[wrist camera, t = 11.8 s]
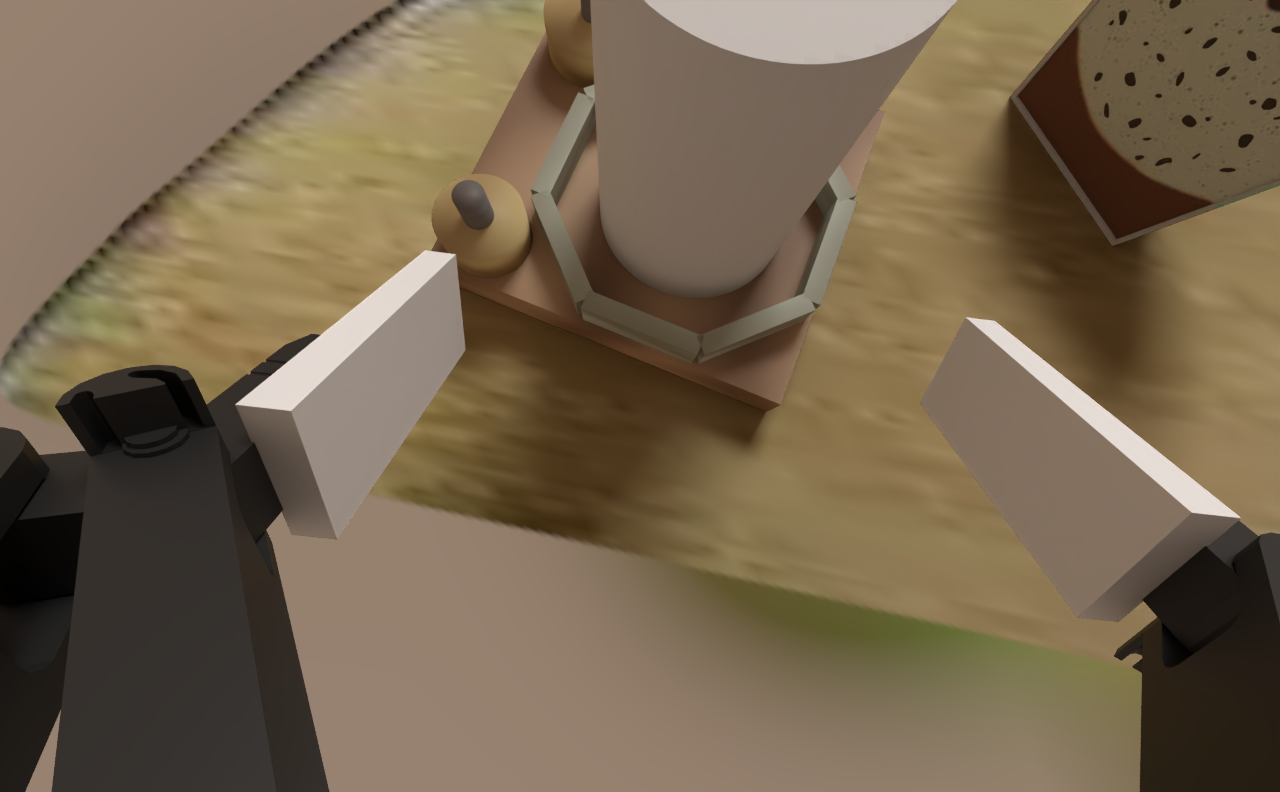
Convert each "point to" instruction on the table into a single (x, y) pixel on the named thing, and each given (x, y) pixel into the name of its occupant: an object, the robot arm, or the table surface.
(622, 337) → the gear board
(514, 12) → the table surface
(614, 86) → the tall round pillar
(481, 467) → the table surface
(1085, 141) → the food container
